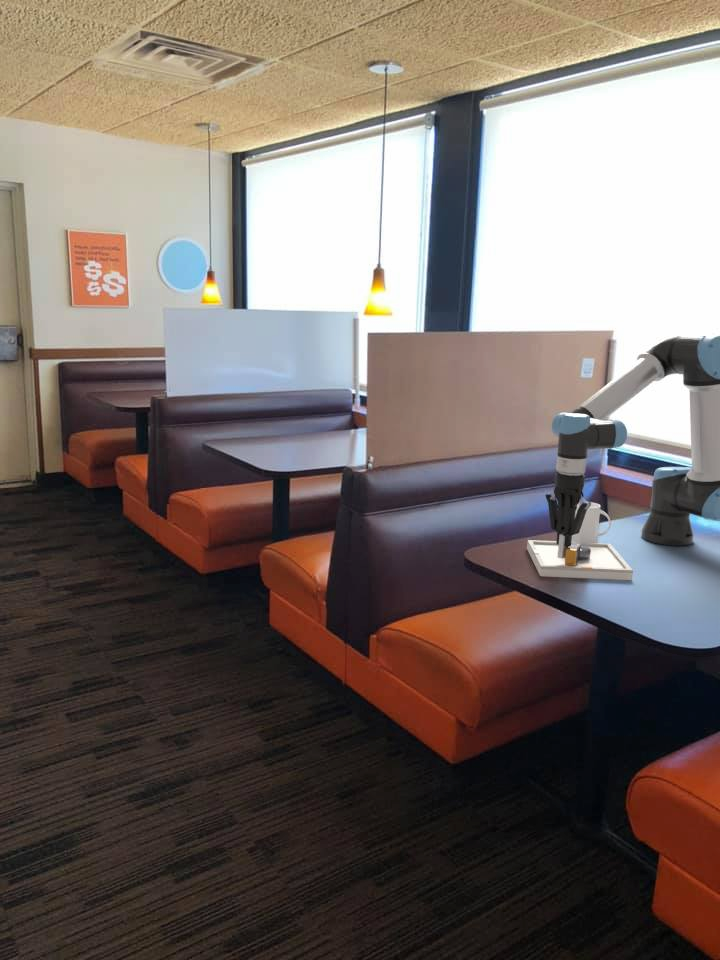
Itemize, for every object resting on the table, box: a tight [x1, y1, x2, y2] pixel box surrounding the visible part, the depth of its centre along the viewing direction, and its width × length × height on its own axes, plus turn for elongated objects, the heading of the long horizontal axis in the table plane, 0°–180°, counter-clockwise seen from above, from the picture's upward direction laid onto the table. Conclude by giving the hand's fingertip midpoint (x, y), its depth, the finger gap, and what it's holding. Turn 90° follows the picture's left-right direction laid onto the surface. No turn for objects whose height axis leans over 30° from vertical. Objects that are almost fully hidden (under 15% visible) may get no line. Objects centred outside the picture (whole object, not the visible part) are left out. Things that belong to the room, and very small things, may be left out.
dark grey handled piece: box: [565, 543, 591, 566], centre depth 210 cm, size 14×7×4 cm, turn 153°
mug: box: [571, 501, 612, 543], centre depth 233 cm, size 12×8×12 cm
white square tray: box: [526, 539, 634, 581], centre depth 214 cm, size 24×24×3 cm
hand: (562, 557), depth 207 cm, fingers closed
